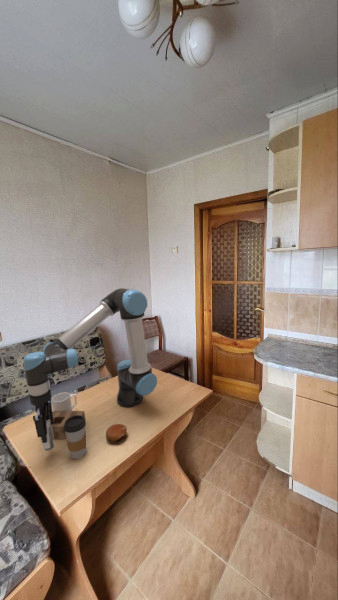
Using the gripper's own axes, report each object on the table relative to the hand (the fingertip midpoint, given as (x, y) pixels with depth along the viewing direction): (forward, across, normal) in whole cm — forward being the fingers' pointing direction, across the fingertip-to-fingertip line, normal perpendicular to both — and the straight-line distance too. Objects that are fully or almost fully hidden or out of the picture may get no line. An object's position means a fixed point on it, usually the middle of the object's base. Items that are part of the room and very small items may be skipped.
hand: (48, 443), depth 101 cm
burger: (+6, -6, +27) cm, 28 cm away
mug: (+6, -28, -1) cm, 29 cm away
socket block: (+6, -16, +1) cm, 17 cm away
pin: (+2, 0, 0) cm, 2 cm away
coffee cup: (+6, +1, +11) cm, 13 cm away
